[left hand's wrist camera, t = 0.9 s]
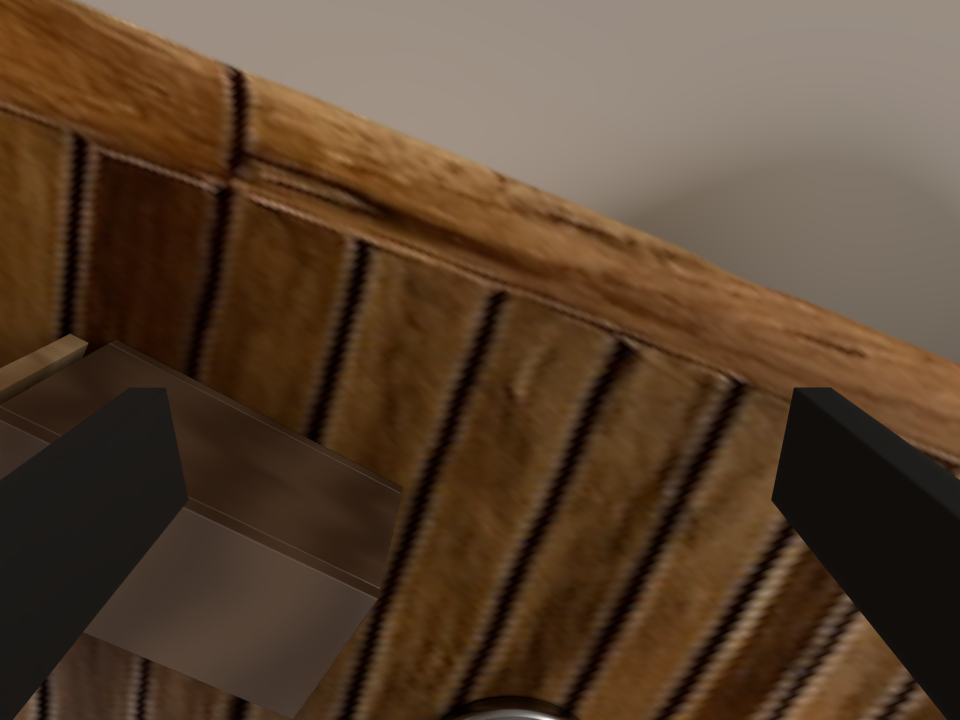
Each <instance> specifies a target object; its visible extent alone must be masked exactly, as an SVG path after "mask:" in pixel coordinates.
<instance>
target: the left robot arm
mask: <svg viewBox="0 0 960 720" xmlns="http://www.w3.org/2000/svg"><path fill="white" fill-rule="evenodd" d="M188 500H189V499H188V494H187V489H186V484H185V479H184V475H183V470H182V465H181V460H180V455H179V450H178V445H177V440H176V435H175V430H174V425H173V420H172V415H171V410H170V405H169V400H168V395H167V390H166V388H128V389H127V390H125V391H124V392H122V393H121V394H120V395H118V396H117V397H115V398H114V399H113V400H111V401H110V402H108V403H107V404H106V405H104V406H103V407H101V408H100V409H99V410H97V411H96V412H94V413H93V414H92V415H90V416H89V417H87V418H86V419H85V420H83V421H82V422H81V423H79V424H78V425H76V426H75V427H74V428H72V429H71V430H69V431H68V432H67V433H65V434H64V435H62V436H61V437H60V438H58V439H57V440H55V441H54V442H53V443H51V444H50V445H48V446H47V447H46V448H44V449H43V450H41V451H40V452H39V453H37V454H36V455H34V456H33V457H32V458H30V459H29V460H27V461H26V462H25V463H23V464H22V465H20V466H19V467H18V468H16V469H15V470H13V471H12V472H11V473H9V474H8V475H6V476H5V477H4V478H2V479H1V480H0V720H13V719H14V718H15V716H16V715H17V714H18V713H19V711H20V710H21V709H22V708H23V706H24V705H25V704H26V703H27V701H28V700H29V699H30V698H31V696H32V695H33V694H34V693H35V691H36V690H37V689H38V688H39V686H40V685H41V684H42V683H43V681H44V680H45V679H46V678H47V676H48V675H49V674H50V673H51V671H52V670H53V669H54V668H55V666H56V665H57V664H58V663H59V661H60V660H61V659H62V658H63V656H64V655H65V654H66V653H67V651H68V650H69V649H70V648H71V646H72V645H73V644H74V643H75V641H76V640H77V639H78V638H79V636H80V635H81V634H82V633H83V631H84V630H85V629H86V628H87V626H88V625H89V624H90V623H91V621H92V620H93V619H94V618H95V616H96V615H97V614H98V613H99V611H100V610H101V609H102V608H103V606H104V605H105V604H106V603H107V601H108V600H109V599H110V598H111V597H112V595H113V594H114V593H115V592H116V590H117V589H118V588H119V587H120V585H121V584H122V583H123V582H124V580H125V579H126V578H127V577H128V575H129V574H130V573H131V572H132V570H133V569H134V568H135V567H136V565H137V564H138V563H139V562H140V560H141V559H142V558H143V557H144V555H145V554H146V553H147V552H148V550H149V549H150V548H151V547H152V545H153V544H154V543H155V542H156V540H157V539H158V538H159V537H160V535H161V534H162V533H163V532H164V530H165V529H166V528H167V527H168V525H169V524H170V523H171V522H172V520H173V519H174V518H175V517H176V515H177V514H178V513H179V512H180V510H181V509H182V508H183V507H184V505H185V504H186V503H187V502H188ZM771 500H772V502H773V503H774V504H775V505H776V507H777V508H778V509H779V510H780V512H781V513H782V514H783V515H784V517H785V518H786V519H787V520H788V522H789V523H790V524H791V525H792V527H793V528H794V529H795V530H796V532H797V533H798V534H799V535H800V537H801V538H802V539H803V540H804V542H805V543H806V544H807V545H808V547H809V548H810V549H811V550H812V552H813V553H814V554H815V555H816V557H817V558H818V559H819V560H820V562H821V563H822V564H823V565H824V567H825V568H826V569H827V570H828V572H829V573H830V574H831V575H832V577H833V578H834V579H835V580H836V582H837V583H838V584H839V585H840V587H841V588H842V589H843V590H844V592H845V593H846V594H847V595H848V597H849V598H850V599H851V600H852V601H853V603H854V604H855V605H856V606H857V608H858V609H859V610H860V611H861V613H862V614H863V615H864V616H865V618H866V619H867V620H868V621H869V623H870V624H871V625H872V626H873V628H874V629H875V630H876V631H877V633H878V634H879V635H880V636H881V638H882V639H883V640H884V641H885V643H886V644H887V645H888V646H889V648H890V649H891V650H892V651H893V653H894V654H895V655H896V656H897V658H898V659H899V660H900V661H901V663H902V664H903V665H904V666H905V668H906V669H907V670H908V671H909V673H910V674H911V675H912V676H913V678H914V679H915V680H916V681H917V683H918V684H919V685H920V686H921V688H922V689H923V690H924V691H925V693H926V694H927V695H928V696H929V698H930V699H931V700H932V701H933V703H934V704H935V705H936V706H937V708H938V709H939V710H940V711H941V713H942V714H943V715H944V716H945V718H946V719H947V720H960V480H959V479H958V478H956V477H955V476H954V475H952V474H951V473H949V472H948V471H947V470H945V469H944V468H942V467H941V466H940V465H938V464H937V463H935V462H934V461H933V460H931V459H930V458H928V457H927V456H926V455H924V454H923V453H921V452H920V451H919V450H917V449H916V448H914V447H913V446H912V445H910V444H909V443H907V442H906V441H905V440H903V439H902V438H900V437H899V436H898V435H896V434H895V433H893V432H892V431H891V430H889V429H888V428H886V427H885V426H884V425H882V424H881V423H879V422H878V421H877V420H875V419H874V418H873V417H871V416H870V415H868V414H867V413H866V412H864V411H863V410H861V409H860V408H859V407H857V406H856V405H854V404H853V403H852V402H850V401H849V400H847V399H846V398H845V397H843V396H842V395H840V394H839V393H838V392H836V391H835V390H833V389H832V388H794V390H793V395H792V400H791V405H790V410H789V415H788V420H787V425H786V430H785V435H784V440H783V445H782V450H781V455H780V460H779V465H778V470H777V475H776V479H775V484H774V489H773V494H772V499H771ZM444 720H579V719H577V718H576V717H575V716H574V715H572V714H571V713H569V712H567V711H566V710H564V709H562V708H560V707H557V706H555V705H553V704H550V703H547V702H543V701H539V700H534V699H528V698H514V697H508V698H496V699H489V700H484V701H480V702H477V703H473V704H471V705H468V706H466V707H463V708H461V709H459V710H457V711H455V712H454V713H452V714H451V715H449V716H448V717H446V718H445V719H444Z"/></svg>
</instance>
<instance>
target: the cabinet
mask: <svg viewBox="0 0 960 720" xmlns="http://www.w3.org/2000/svg"><path fill="white" fill-rule="evenodd" d="M128 388H166V390H167V395H168V400H169V405H170V410H171V415H172V420H173V425H174V430H175V435H176V440H177V445H178V450H179V455H180V460H181V465H182V470H183V475H184V479H185V484H186V489H187V494H188V499H189V500H188V502H187V503H186V504H185V505H184V507H183V508H182V509H181V510H180V512H179V513H178V514H177V515H176V517H175V518H174V519H173V520H172V522H171V523H170V524H169V525H168V527H167V528H166V529H165V530H164V532H163V533H162V534H161V535H160V537H159V538H158V539H157V540H156V542H155V543H154V544H153V545H152V547H151V548H150V549H149V550H148V552H147V553H146V554H145V555H144V557H143V558H142V559H141V560H140V562H139V563H138V564H137V565H136V567H135V568H134V569H133V570H132V572H131V573H130V574H129V575H128V577H127V578H126V579H125V580H124V582H123V583H122V584H121V585H120V587H119V588H118V589H117V590H116V592H115V593H114V594H113V595H112V597H111V598H110V599H109V600H108V601H107V603H106V604H105V605H104V606H103V608H102V609H101V610H100V611H99V613H98V614H97V615H96V616H95V618H94V619H93V620H92V621H91V623H90V624H89V625H88V626H87V628H86V629H85V630H84V631H83V632H84V633H87V634H89V635H91V636H94V637H96V638H99V639H101V640H103V641H106V642H108V643H111V644H113V645H115V646H118V647H120V648H122V649H125V650H127V651H130V652H132V653H134V654H137V655H139V656H142V657H144V658H146V659H149V660H151V661H154V662H156V663H158V664H161V665H163V666H166V667H168V668H170V669H173V670H175V671H177V672H180V673H182V674H185V675H187V676H189V677H192V678H194V679H197V680H199V681H201V682H204V683H206V684H209V685H211V686H213V687H216V688H218V689H221V690H223V691H225V692H228V693H230V694H233V695H235V696H237V697H240V698H242V699H244V700H247V701H249V702H252V703H254V704H256V705H259V706H261V707H264V708H266V709H268V710H271V711H273V712H276V713H278V714H280V715H283V716H285V717H288V718H290V719H294V717H295V716H296V714H297V713H298V712H299V710H300V709H301V707H302V706H303V705H304V703H305V702H306V700H307V699H308V697H309V696H310V695H311V693H312V692H313V690H314V689H315V688H316V686H317V685H318V683H319V682H320V681H321V679H322V678H323V676H324V675H325V673H326V672H327V671H328V669H329V668H330V666H331V665H332V664H333V662H334V661H335V659H336V658H337V657H338V655H339V654H340V652H341V651H342V650H343V648H344V647H345V645H346V644H347V642H348V641H349V640H350V638H351V637H352V635H353V634H354V633H355V631H356V630H357V628H358V627H359V626H360V624H361V623H362V621H363V620H364V618H365V617H366V616H367V614H368V613H369V611H370V610H371V609H372V607H373V606H374V604H375V603H376V602H377V600H378V597H379V592H380V588H381V583H382V579H383V574H384V570H385V565H386V561H387V556H388V552H389V547H390V543H391V538H392V534H393V529H394V525H395V520H396V516H397V511H398V507H399V502H400V498H401V494H402V489H403V488H402V487H400V486H399V485H397V484H395V483H393V482H391V481H389V480H387V479H385V478H383V477H381V476H379V475H377V474H375V473H373V472H372V471H370V470H368V469H366V468H364V467H362V466H360V465H358V464H356V463H354V462H352V461H350V460H348V459H346V458H345V457H343V456H341V455H339V454H337V453H335V452H333V451H331V450H329V449H327V448H325V447H323V446H321V445H319V444H317V443H316V442H314V441H312V440H310V439H308V438H306V437H304V436H302V435H300V434H298V433H296V432H294V431H292V430H290V429H289V428H287V427H285V426H283V425H281V424H279V423H277V422H275V421H273V420H271V419H269V418H267V417H265V416H263V415H261V414H260V413H258V412H256V411H254V410H252V409H250V408H248V407H246V406H244V405H242V404H240V403H238V402H236V401H234V400H233V399H231V398H229V397H227V396H225V395H223V394H221V393H219V392H217V391H215V390H213V389H211V388H209V387H207V386H205V385H204V384H202V383H200V382H198V381H196V380H194V379H192V378H190V377H188V376H186V375H184V374H182V373H180V372H178V371H177V370H175V369H173V368H171V367H169V366H167V365H165V364H163V363H161V362H159V361H157V360H155V359H153V358H151V357H149V356H148V355H146V354H144V353H142V352H140V351H138V350H136V349H134V348H132V347H130V346H128V345H126V344H124V343H122V342H121V341H119V340H117V339H115V340H113V341H112V342H110V343H109V344H107V345H105V346H103V347H101V348H100V349H98V350H96V351H94V352H93V353H91V354H89V355H87V356H85V357H84V358H82V359H80V360H78V361H77V362H75V363H73V364H71V365H70V366H68V367H66V368H64V369H63V370H61V371H59V372H57V373H56V374H54V375H52V376H50V377H48V378H47V379H45V380H43V381H41V382H40V383H38V384H36V385H34V386H33V387H31V388H29V389H27V390H26V391H24V392H22V393H20V394H19V395H17V396H15V397H13V398H11V399H10V400H8V401H6V402H4V403H3V404H1V405H0V480H1V479H2V478H4V477H5V476H6V475H8V474H9V473H11V472H12V471H13V470H15V469H16V468H18V467H19V466H20V465H22V464H23V463H25V462H26V461H27V460H29V459H30V458H32V457H33V456H34V455H36V454H37V453H39V452H40V451H41V450H43V449H44V448H46V447H47V446H48V445H50V444H51V443H53V442H54V441H55V440H57V439H58V438H60V437H61V436H62V435H64V434H65V433H67V432H68V431H69V430H71V429H72V428H74V427H75V426H76V425H78V424H79V423H81V422H82V421H83V420H85V419H86V418H87V417H89V416H90V415H92V414H93V413H94V412H96V411H97V410H99V409H100V408H101V407H103V406H104V405H106V404H107V403H108V402H110V401H111V400H113V399H114V398H115V397H117V396H118V395H120V394H121V393H122V392H124V391H125V390H127V389H128Z"/></svg>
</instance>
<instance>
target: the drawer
mask: <svg viewBox="0 0 960 720" xmlns="http://www.w3.org/2000/svg"><path fill="white" fill-rule="evenodd" d="M87 346H88V343H87V342H85V341H83V340H81V339H79V338H77V337H76V336H74V335H72V334H69V335H67V336H65V337H63V338H61V339H59V340H57V341H55V342H53V343H51V344H49V345H47V346H44V347H42V348H40V349H38V350H36V351H34V352H32V353H30V354H28V355H26V356H24V357H22V358H20V359H18V360H16V361H14V362H12V363H10V364H8V365H6V366H4V367H2V368H0V405H1V404H3V403H4V402H6V401H8V400H10V399H11V398H13V397H15V396H17V395H19V394H20V393H22V392H24V391H26V390H27V389H29V388H31V387H33V386H34V385H36V384H38V383H40V382H41V381H43V380H45V379H47V378H48V377H50V376H52V375H54V374H56V373H57V372H59V371H61V370H63V369H64V368H66V367H68V366H70V365H71V364H73V363H75V362H77V361H78V360H80V359H82V358H83V355H84V353H85V351H86V348H87Z"/></svg>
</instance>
